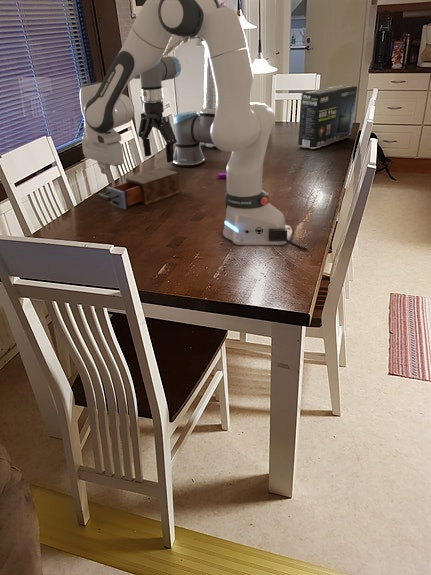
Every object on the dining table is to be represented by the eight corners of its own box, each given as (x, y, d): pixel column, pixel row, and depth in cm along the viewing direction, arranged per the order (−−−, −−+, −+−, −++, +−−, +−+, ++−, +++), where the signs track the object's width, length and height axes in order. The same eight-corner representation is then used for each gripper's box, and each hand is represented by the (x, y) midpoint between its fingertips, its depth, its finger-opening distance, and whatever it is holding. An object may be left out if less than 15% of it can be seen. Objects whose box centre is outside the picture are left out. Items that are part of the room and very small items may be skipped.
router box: (314, 151, 231) (318, 94, 217) (296, 148, 237) (299, 92, 224) (352, 138, 251) (358, 85, 238) (335, 135, 258) (340, 83, 245)
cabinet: (145, 204, 175) (142, 183, 171) (128, 198, 182) (125, 178, 177) (179, 192, 186) (178, 172, 181) (162, 187, 192) (160, 167, 188)
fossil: (221, 143, 236) (202, 124, 239) (211, 160, 243) (192, 142, 246) (239, 141, 250) (220, 124, 253) (228, 158, 256) (210, 140, 260)
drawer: (111, 213, 166) (109, 196, 163) (97, 207, 172) (94, 190, 169) (158, 197, 179) (156, 181, 176) (142, 192, 185) (141, 176, 182)
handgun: (217, 176, 201) (217, 172, 200) (234, 175, 202) (234, 170, 201) (227, 191, 184) (227, 187, 183) (245, 189, 185) (245, 185, 184)
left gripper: (124, 99, 173) (132, 155, 184) (167, 106, 158) (172, 166, 169) (140, 96, 178) (146, 151, 189) (183, 102, 163) (187, 162, 174)
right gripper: (74, 131, 161) (82, 170, 169) (108, 140, 149) (114, 181, 156) (90, 128, 165) (96, 166, 172) (124, 136, 153) (129, 176, 160)
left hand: (159, 158), depth 179 cm, fingers open, 13 cm apart
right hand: (105, 173), depth 164 cm, fingers closed
